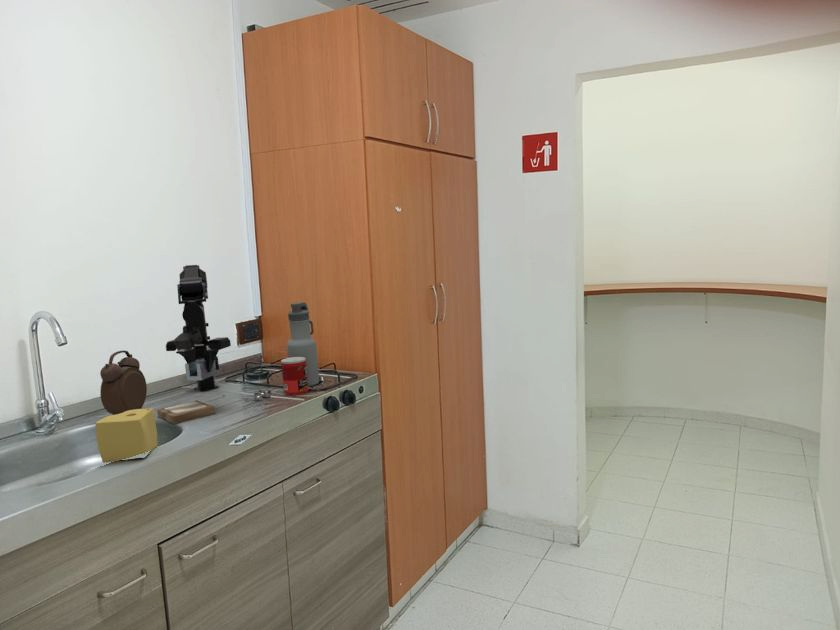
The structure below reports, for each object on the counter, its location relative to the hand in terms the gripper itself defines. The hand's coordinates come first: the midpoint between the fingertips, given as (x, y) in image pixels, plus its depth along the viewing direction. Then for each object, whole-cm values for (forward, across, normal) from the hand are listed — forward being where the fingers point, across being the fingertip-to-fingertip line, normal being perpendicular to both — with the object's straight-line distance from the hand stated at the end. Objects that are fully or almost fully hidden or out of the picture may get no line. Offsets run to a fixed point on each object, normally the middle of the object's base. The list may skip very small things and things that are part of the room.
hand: (201, 372), depth 186 cm
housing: (+2, 0, 0) cm, 2 cm away
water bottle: (+11, +20, +29) cm, 37 cm away
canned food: (+12, +21, +19) cm, 31 cm away
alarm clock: (+12, -21, -9) cm, 26 cm away
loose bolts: (+11, +12, +13) cm, 21 cm away
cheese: (+12, +4, -38) cm, 40 cm away
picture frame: (+11, -2, -7) cm, 13 cm away
